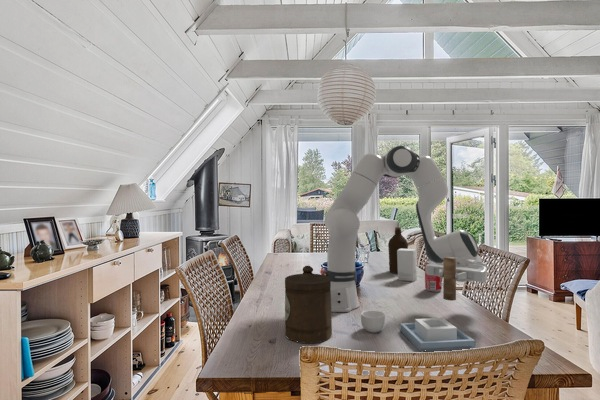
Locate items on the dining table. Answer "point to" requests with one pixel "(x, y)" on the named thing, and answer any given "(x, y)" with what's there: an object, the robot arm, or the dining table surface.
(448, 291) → the peg
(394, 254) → the olive oil
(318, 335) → the wooden container
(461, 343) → the tray
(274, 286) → the dining table surface
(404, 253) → the skincare box
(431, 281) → the soda can
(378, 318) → the teacup
